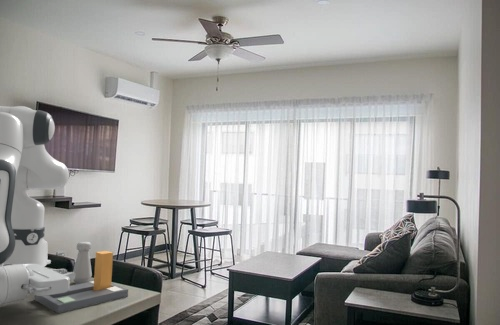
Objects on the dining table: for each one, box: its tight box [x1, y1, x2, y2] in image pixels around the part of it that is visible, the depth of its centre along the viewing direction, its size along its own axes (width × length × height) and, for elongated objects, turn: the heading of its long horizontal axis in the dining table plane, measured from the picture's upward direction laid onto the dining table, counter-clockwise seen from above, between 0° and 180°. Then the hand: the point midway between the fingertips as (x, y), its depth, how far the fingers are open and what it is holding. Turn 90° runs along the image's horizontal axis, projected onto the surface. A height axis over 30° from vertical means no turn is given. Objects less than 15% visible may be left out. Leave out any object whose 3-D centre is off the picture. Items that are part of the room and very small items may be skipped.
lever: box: [93, 250, 114, 291], centre depth 112 cm, size 4×4×11 cm
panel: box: [33, 280, 129, 314], centre depth 107 cm, size 14×20×2 cm
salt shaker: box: [72, 241, 93, 285], centre depth 122 cm, size 6×6×13 cm
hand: (70, 273), depth 104 cm, fingers open, 3 cm apart
